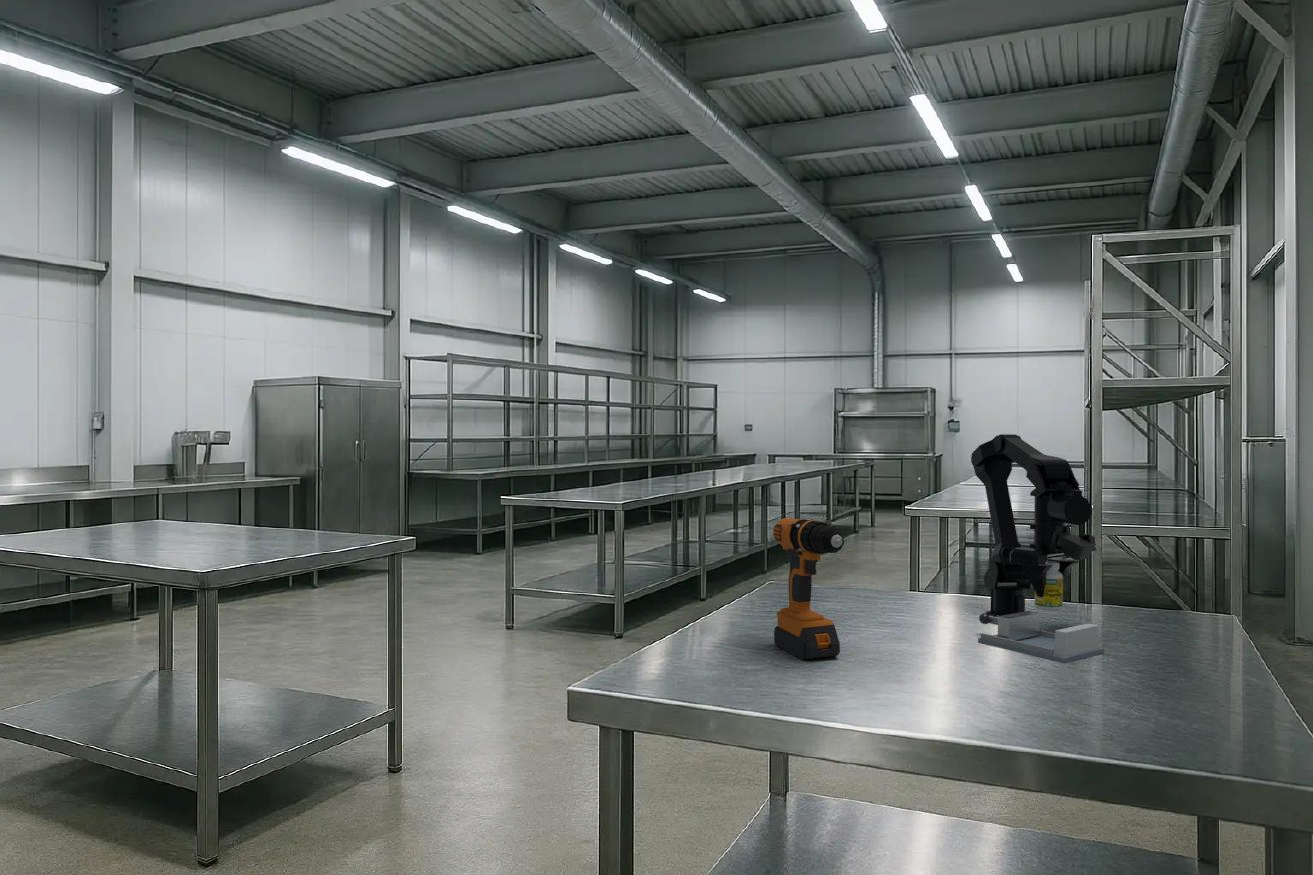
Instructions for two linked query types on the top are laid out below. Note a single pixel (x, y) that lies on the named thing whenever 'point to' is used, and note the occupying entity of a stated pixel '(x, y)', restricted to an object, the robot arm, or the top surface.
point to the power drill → (805, 589)
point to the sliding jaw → (1014, 624)
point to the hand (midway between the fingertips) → (1048, 595)
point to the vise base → (1054, 643)
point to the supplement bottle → (1051, 590)
